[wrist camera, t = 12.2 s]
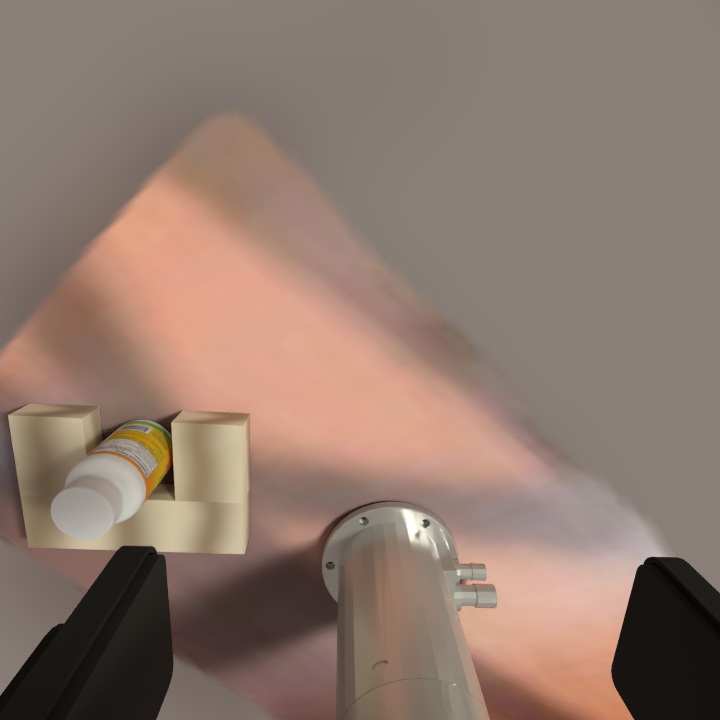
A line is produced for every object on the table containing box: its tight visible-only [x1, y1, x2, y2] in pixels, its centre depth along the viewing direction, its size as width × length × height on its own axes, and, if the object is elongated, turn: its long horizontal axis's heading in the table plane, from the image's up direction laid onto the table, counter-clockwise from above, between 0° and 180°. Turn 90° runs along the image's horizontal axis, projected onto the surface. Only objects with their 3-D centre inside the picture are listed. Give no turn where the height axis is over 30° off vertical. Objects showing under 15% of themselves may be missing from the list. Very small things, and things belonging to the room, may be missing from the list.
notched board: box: [8, 403, 250, 554], centre depth 38 cm, size 18×12×2 cm, turn 86°
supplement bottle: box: [51, 420, 173, 540], centre depth 34 cm, size 5×5×10 cm
